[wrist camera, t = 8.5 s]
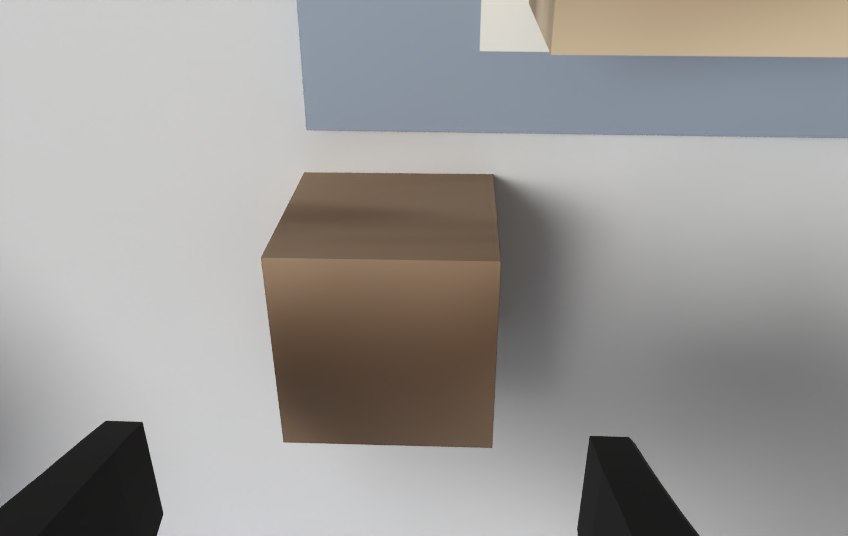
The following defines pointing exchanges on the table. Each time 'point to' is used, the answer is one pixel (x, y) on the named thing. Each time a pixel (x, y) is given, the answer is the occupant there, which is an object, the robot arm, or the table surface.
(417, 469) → the table surface
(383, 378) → the walnut cube
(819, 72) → the board
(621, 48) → the oak cube
